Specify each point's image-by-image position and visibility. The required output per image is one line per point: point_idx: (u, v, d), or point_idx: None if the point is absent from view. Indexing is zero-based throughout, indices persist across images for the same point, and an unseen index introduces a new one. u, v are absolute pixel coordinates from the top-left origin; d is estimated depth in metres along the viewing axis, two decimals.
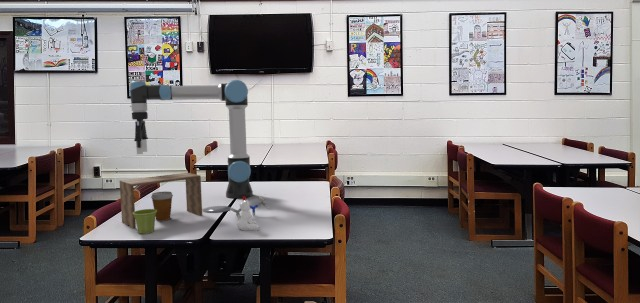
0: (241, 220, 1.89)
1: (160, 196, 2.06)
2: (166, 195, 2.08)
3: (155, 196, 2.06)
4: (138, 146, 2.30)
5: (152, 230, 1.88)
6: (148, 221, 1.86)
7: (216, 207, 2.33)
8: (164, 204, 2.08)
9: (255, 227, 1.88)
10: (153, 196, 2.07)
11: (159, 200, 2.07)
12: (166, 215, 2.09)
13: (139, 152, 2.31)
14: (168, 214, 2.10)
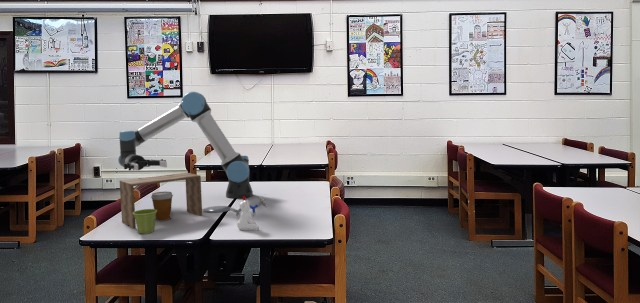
0: (241, 220, 1.89)
1: (160, 196, 2.06)
2: (166, 195, 2.08)
3: (155, 196, 2.06)
4: (131, 167, 2.14)
5: (152, 230, 1.88)
6: (148, 221, 1.86)
7: (216, 207, 2.33)
8: (164, 204, 2.08)
9: (255, 227, 1.88)
10: (153, 196, 2.07)
11: (159, 200, 2.07)
12: (166, 215, 2.09)
13: (135, 167, 2.13)
14: (168, 214, 2.10)
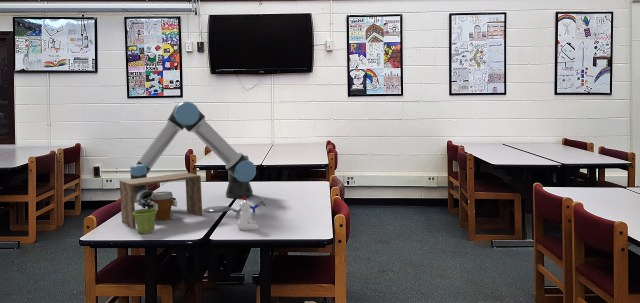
0: (241, 220, 1.89)
1: (160, 196, 2.06)
2: (166, 195, 2.08)
3: (155, 196, 2.07)
4: (150, 206, 2.07)
5: (152, 230, 1.88)
6: (148, 221, 1.86)
7: (216, 207, 2.33)
8: (164, 204, 2.08)
9: (255, 227, 1.88)
10: (153, 196, 2.07)
11: (159, 200, 2.07)
12: (166, 215, 2.09)
13: (155, 206, 2.05)
14: (168, 214, 2.10)
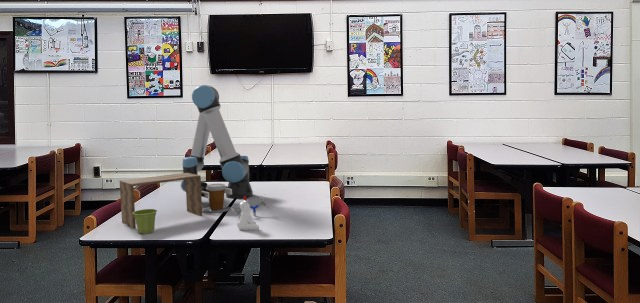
0: (241, 220, 1.89)
1: (215, 187, 2.24)
2: (220, 187, 2.25)
3: (210, 187, 2.24)
4: (201, 195, 2.23)
5: (152, 230, 1.88)
6: (148, 221, 1.86)
7: None
8: (218, 194, 2.25)
9: (255, 227, 1.88)
10: (208, 187, 2.25)
11: (214, 191, 2.24)
12: (220, 205, 2.27)
13: (206, 195, 2.22)
14: (222, 204, 2.28)
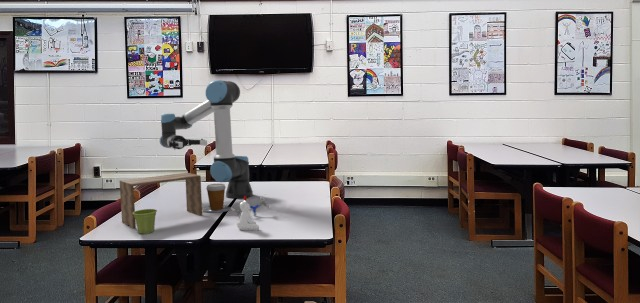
0: (241, 220, 1.89)
1: (215, 187, 2.24)
2: (220, 186, 2.25)
3: (210, 187, 2.24)
4: (175, 145, 2.35)
5: (152, 230, 1.88)
6: (148, 221, 1.86)
7: None
8: (218, 194, 2.25)
9: (255, 227, 1.88)
10: (208, 187, 2.25)
11: (214, 191, 2.24)
12: (220, 205, 2.27)
13: (180, 145, 2.34)
14: (222, 204, 2.28)
